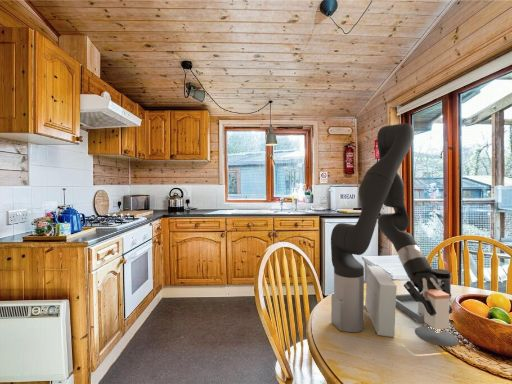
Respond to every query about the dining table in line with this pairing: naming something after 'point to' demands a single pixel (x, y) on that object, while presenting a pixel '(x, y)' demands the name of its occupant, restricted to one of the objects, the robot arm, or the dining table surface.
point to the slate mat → (436, 336)
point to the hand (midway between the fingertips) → (441, 314)
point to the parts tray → (409, 306)
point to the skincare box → (381, 300)
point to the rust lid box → (438, 309)
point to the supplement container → (443, 276)
